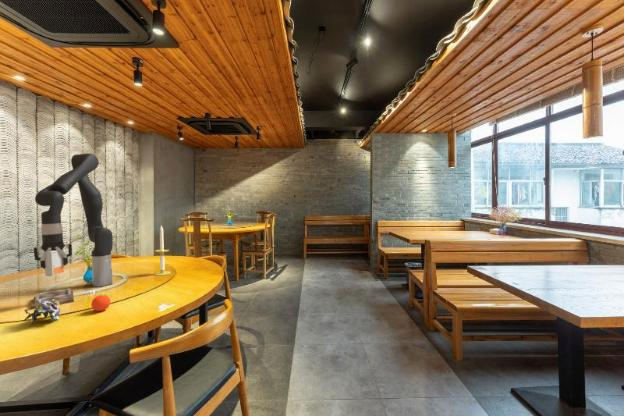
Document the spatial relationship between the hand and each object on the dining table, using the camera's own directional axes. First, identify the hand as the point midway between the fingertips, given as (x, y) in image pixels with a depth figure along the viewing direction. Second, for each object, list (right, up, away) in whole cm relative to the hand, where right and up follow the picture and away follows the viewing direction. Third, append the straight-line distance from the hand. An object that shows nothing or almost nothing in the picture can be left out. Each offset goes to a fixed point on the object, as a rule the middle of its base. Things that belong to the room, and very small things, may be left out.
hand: (54, 266), depth 142 cm
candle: (+25, -15, +53) cm, 61 cm away
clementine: (+31, -17, -11) cm, 37 cm away
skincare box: (0, -4, 0) cm, 4 cm away
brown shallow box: (-3, -17, +3) cm, 18 cm away
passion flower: (+16, -18, -23) cm, 33 cm away
